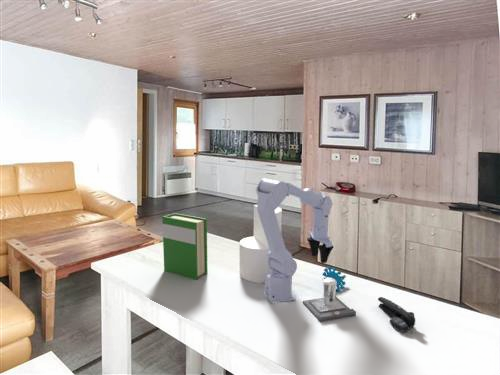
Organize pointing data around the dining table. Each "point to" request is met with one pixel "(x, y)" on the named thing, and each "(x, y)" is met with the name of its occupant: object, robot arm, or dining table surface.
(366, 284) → the dining table surface
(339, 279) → the gear
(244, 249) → the white tall piece
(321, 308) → the scale pan
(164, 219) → the hardback book
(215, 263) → the dining table surface
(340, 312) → the scale base
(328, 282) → the milkshake
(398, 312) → the can opener
